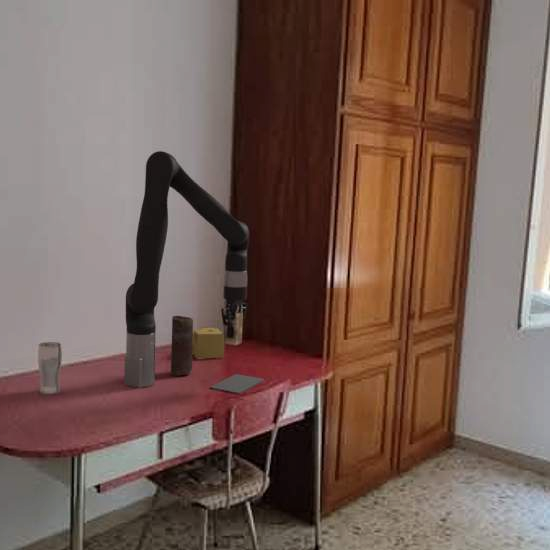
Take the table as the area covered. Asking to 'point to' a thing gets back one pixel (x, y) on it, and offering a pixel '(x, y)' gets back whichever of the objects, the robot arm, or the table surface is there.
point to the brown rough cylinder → (181, 345)
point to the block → (235, 331)
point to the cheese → (208, 343)
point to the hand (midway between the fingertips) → (233, 336)
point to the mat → (237, 383)
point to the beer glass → (49, 366)
